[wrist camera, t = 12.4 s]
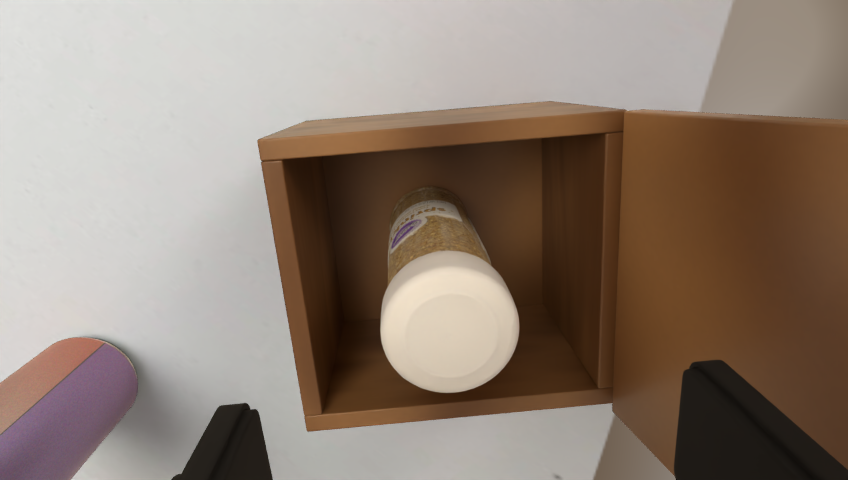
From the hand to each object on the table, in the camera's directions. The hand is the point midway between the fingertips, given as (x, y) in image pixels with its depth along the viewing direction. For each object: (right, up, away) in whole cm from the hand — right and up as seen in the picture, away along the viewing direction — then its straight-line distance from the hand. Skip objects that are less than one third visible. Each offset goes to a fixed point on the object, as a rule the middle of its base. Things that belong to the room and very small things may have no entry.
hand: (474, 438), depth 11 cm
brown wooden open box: (0, +5, +19) cm, 19 cm away
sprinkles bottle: (-1, +5, +18) cm, 19 cm away
